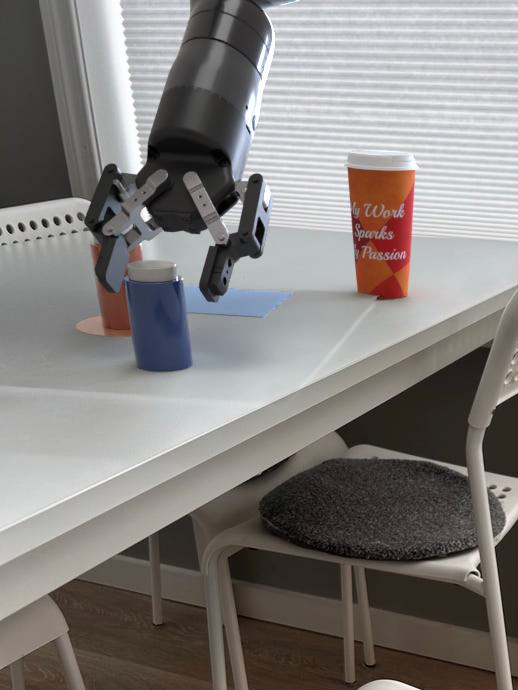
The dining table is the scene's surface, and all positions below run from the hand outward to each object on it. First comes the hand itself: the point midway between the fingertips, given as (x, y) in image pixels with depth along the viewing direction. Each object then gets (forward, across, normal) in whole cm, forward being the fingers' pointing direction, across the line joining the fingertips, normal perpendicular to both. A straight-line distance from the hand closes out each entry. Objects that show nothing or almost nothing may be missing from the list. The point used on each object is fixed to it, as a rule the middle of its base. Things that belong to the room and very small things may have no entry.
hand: (157, 291), depth 74 cm
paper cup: (-20, +7, +29) cm, 36 cm away
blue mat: (-12, -7, +20) cm, 25 cm away
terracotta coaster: (-3, -10, +12) cm, 15 cm away
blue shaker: (+4, 0, +4) cm, 6 cm away
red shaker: (-4, -10, +11) cm, 15 cm away
